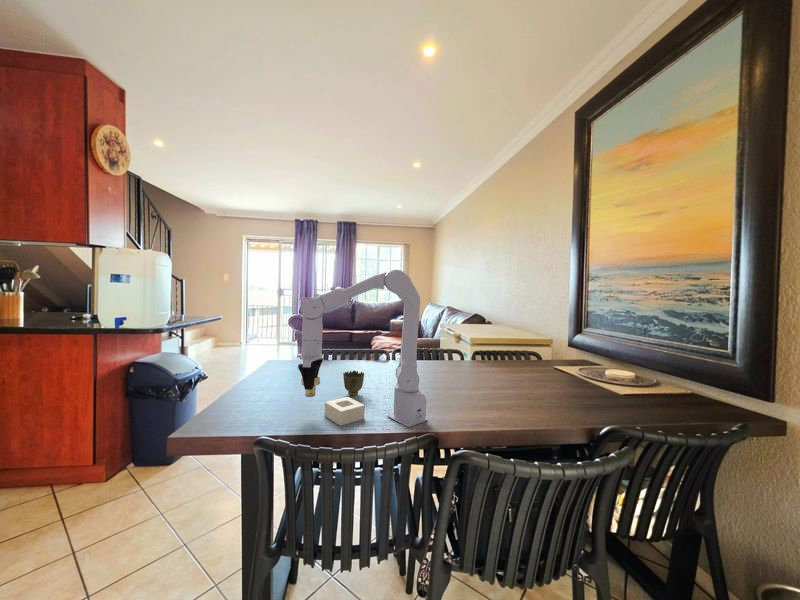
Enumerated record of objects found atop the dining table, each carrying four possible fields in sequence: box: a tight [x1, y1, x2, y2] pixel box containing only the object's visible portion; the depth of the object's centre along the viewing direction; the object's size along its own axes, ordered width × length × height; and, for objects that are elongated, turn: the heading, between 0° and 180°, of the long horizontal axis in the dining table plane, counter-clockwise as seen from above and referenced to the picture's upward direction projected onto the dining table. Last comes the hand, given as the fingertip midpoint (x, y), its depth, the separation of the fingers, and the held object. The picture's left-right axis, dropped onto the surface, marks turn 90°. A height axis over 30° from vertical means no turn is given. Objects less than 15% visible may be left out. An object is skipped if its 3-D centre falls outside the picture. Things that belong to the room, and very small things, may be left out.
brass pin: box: [300, 376, 321, 398], centre depth 91 cm, size 5×5×5 cm
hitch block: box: [323, 396, 366, 427], centre depth 92 cm, size 9×8×4 cm
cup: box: [342, 369, 365, 397], centre depth 112 cm, size 8×7×8 cm
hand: (310, 386), depth 91 cm, fingers closed on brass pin, 5 cm apart
